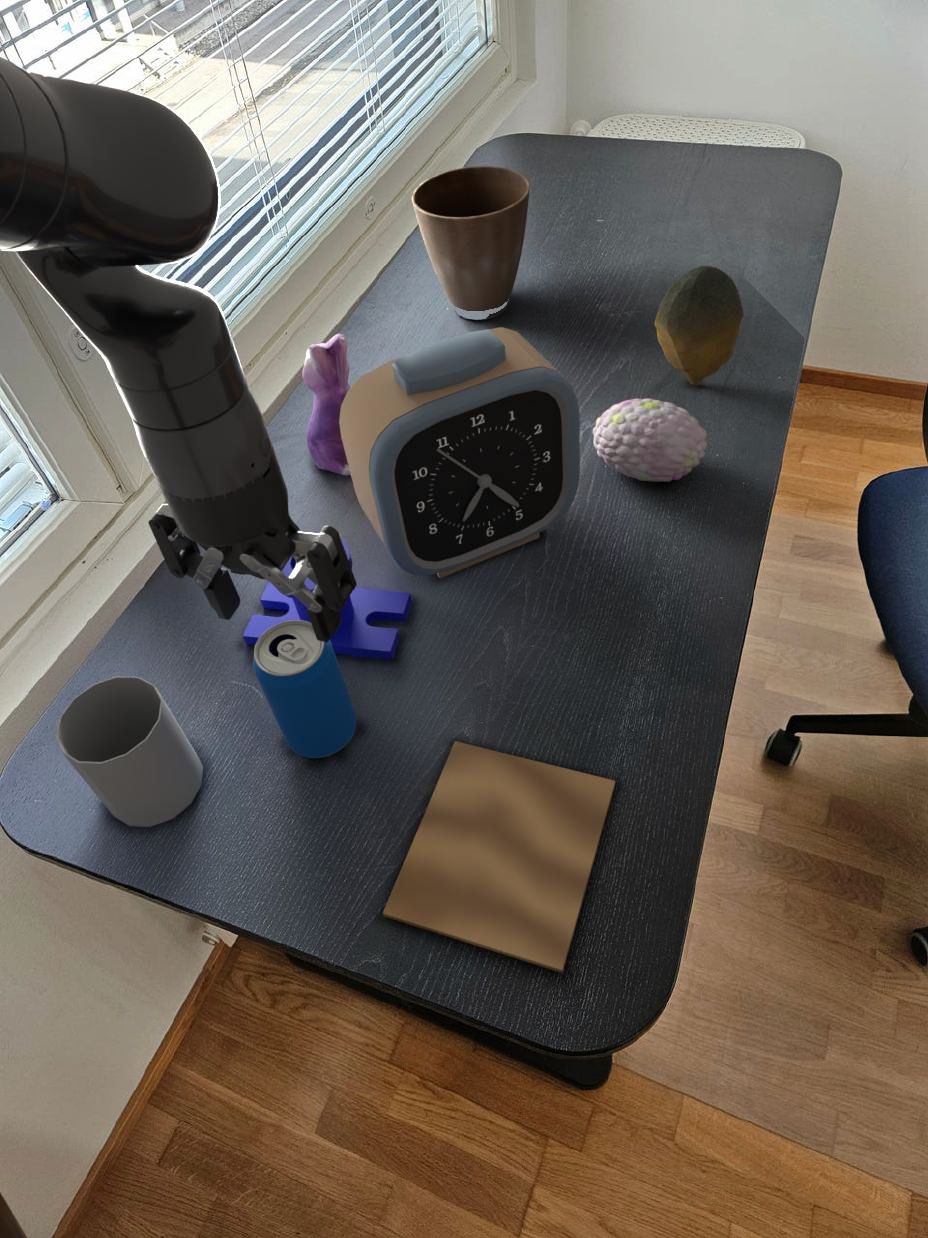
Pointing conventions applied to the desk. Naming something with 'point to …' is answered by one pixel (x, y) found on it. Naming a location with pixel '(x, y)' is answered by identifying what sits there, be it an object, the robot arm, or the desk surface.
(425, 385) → the alarm clock
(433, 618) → the desk surface
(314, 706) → the beverage can
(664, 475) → the decorative item
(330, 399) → the figurine
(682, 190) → the desk surface
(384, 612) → the mount
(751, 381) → the desk surface
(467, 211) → the flower pot
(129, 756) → the cup
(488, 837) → the cork mat
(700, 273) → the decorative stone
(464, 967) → the desk surface
